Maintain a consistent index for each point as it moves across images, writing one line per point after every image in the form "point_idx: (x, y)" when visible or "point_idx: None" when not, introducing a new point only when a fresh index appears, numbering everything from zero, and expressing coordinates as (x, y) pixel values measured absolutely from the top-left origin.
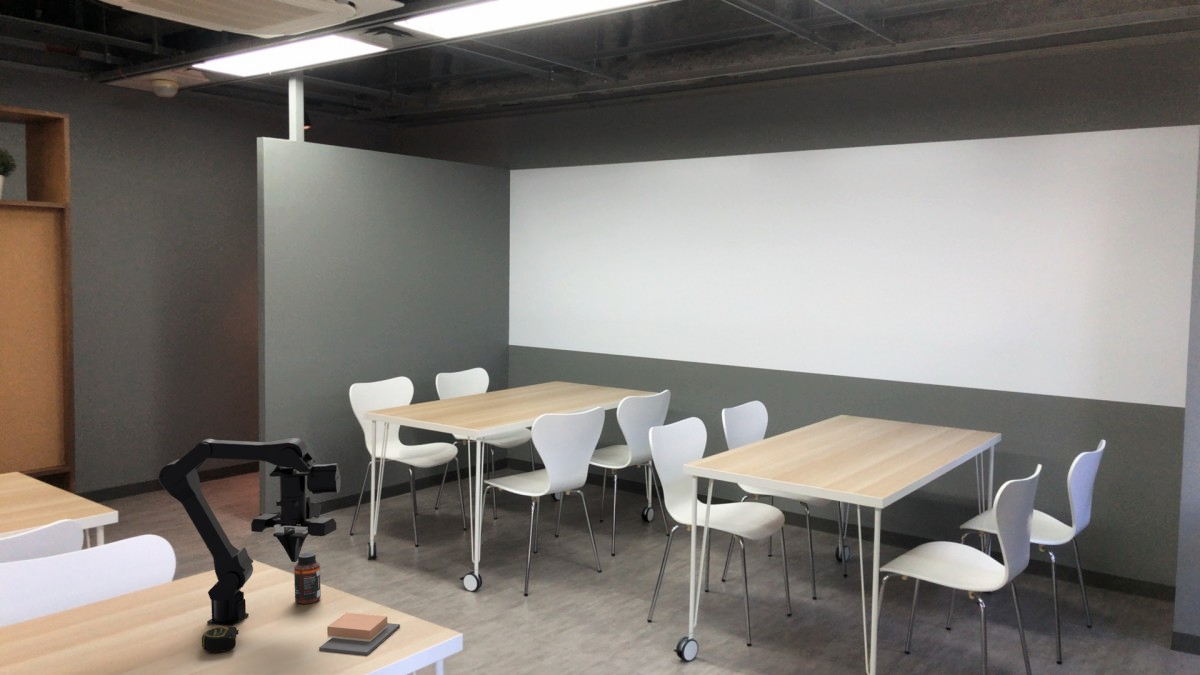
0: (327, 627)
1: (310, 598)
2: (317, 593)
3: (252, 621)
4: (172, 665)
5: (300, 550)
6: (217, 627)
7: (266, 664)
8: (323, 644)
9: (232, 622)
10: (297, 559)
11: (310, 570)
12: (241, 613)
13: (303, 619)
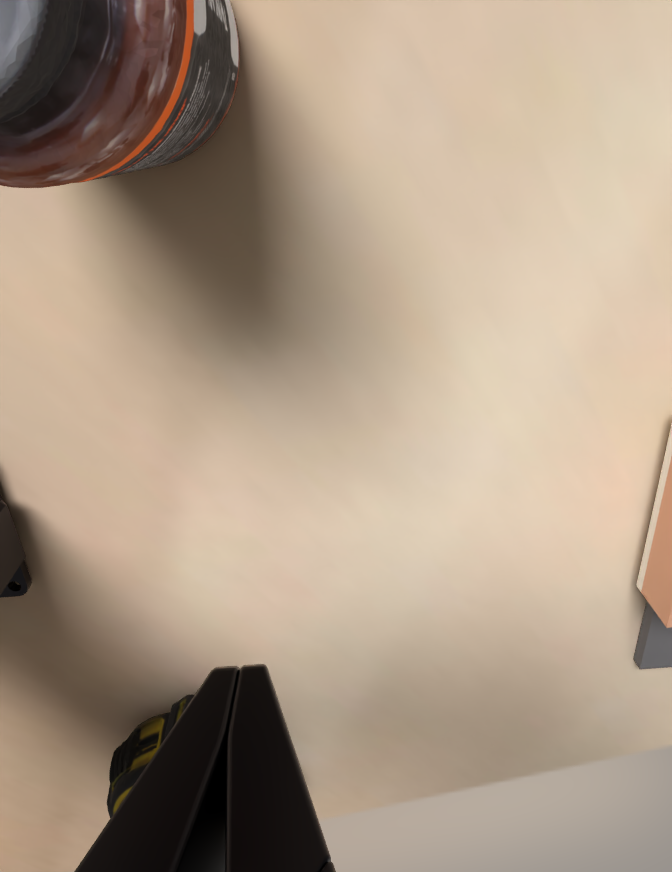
0: (665, 624)
1: (211, 130)
2: (234, 56)
3: (76, 500)
4: None
5: (310, 800)
6: (126, 790)
7: (478, 781)
8: (647, 643)
9: (12, 577)
10: (272, 683)
11: (157, 123)
12: (5, 559)
13: (351, 395)
